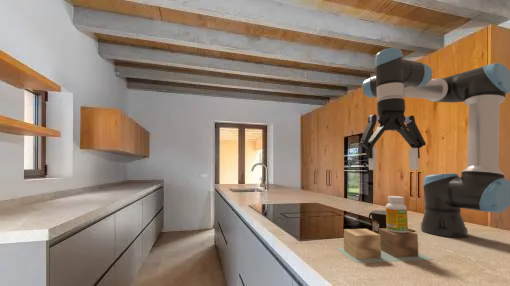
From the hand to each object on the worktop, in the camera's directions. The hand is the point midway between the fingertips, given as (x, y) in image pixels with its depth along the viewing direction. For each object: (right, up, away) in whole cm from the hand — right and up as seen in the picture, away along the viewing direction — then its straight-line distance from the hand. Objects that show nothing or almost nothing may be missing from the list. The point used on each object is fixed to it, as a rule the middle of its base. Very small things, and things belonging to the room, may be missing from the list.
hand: (393, 169), depth 77 cm
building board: (-6, -25, -4) cm, 26 cm away
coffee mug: (+4, -27, +14) cm, 30 cm away
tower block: (-1, -23, -4) cm, 23 cm away
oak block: (-12, -23, -5) cm, 26 cm away
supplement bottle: (-1, -17, -3) cm, 18 cm away
